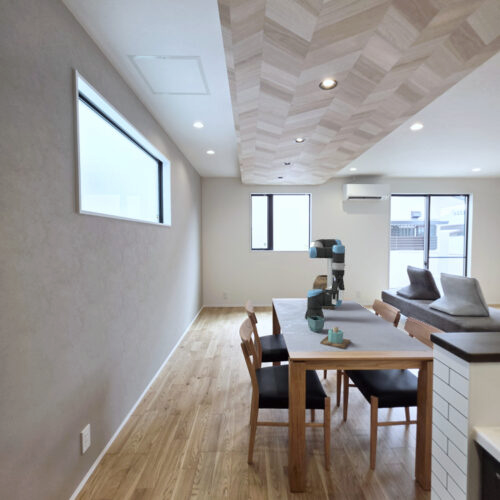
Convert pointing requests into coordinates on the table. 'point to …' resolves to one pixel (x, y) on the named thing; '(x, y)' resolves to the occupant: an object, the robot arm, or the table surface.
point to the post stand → (338, 345)
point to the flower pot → (316, 323)
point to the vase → (321, 286)
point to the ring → (335, 336)
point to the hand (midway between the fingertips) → (337, 302)
